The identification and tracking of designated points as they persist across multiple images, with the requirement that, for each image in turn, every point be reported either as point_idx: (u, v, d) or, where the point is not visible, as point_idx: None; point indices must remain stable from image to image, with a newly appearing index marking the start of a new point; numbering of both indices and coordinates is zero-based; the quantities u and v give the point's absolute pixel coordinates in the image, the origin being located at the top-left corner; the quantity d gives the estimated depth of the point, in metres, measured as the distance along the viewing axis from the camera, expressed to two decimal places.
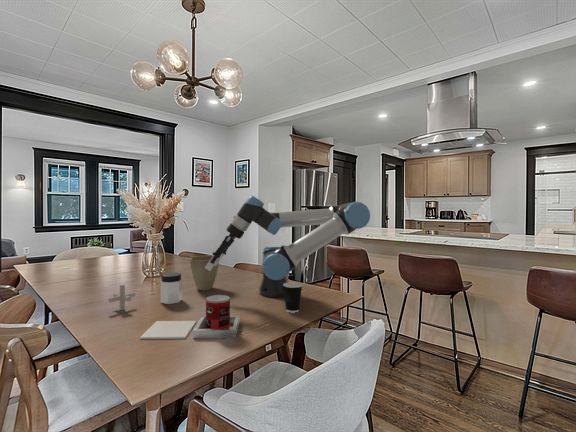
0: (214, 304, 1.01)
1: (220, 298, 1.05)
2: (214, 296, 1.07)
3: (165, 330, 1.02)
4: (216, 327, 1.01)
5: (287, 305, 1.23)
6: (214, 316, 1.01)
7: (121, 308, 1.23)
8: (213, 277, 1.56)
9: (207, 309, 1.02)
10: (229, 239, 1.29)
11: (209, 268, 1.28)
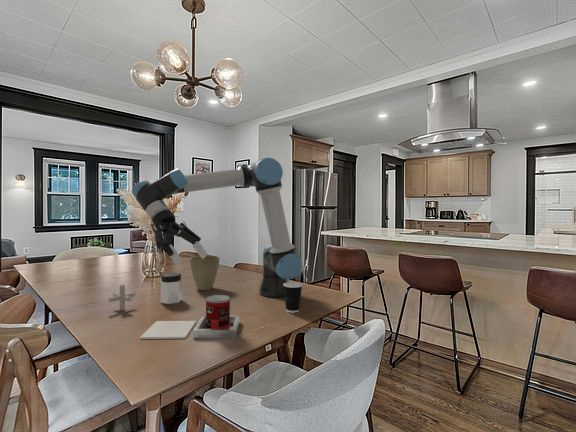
0: (214, 304, 1.01)
1: (220, 298, 1.05)
2: (214, 296, 1.07)
3: (165, 330, 1.02)
4: (216, 327, 1.01)
5: (287, 305, 1.23)
6: (214, 316, 1.01)
7: (121, 308, 1.23)
8: (213, 277, 1.56)
9: (207, 309, 1.02)
10: (155, 226, 1.06)
11: (177, 259, 1.02)
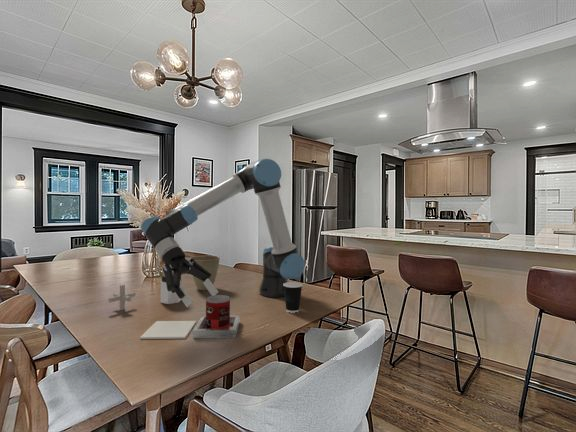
0: (214, 304, 1.01)
1: (220, 298, 1.05)
2: (214, 296, 1.07)
3: (165, 330, 1.02)
4: (216, 327, 1.01)
5: (287, 305, 1.23)
6: (214, 316, 1.01)
7: (121, 308, 1.23)
8: (213, 277, 1.56)
9: (207, 309, 1.02)
10: (165, 267, 1.03)
11: (188, 301, 0.99)
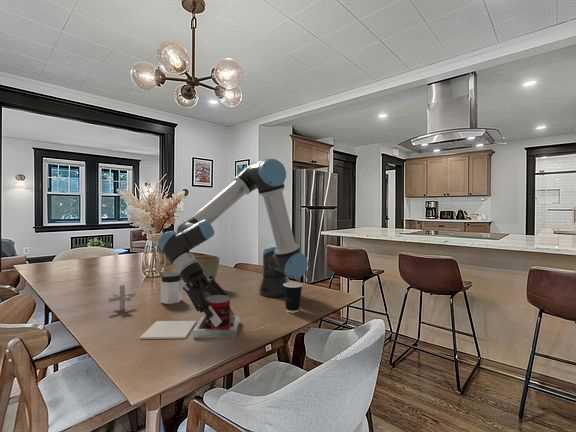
0: (214, 304, 1.01)
1: (220, 298, 1.05)
2: (214, 296, 1.07)
3: (165, 330, 1.02)
4: (216, 327, 1.01)
5: (287, 305, 1.23)
6: None
7: (121, 308, 1.23)
8: (213, 277, 1.56)
9: None
10: (187, 286, 1.01)
11: (217, 321, 0.99)
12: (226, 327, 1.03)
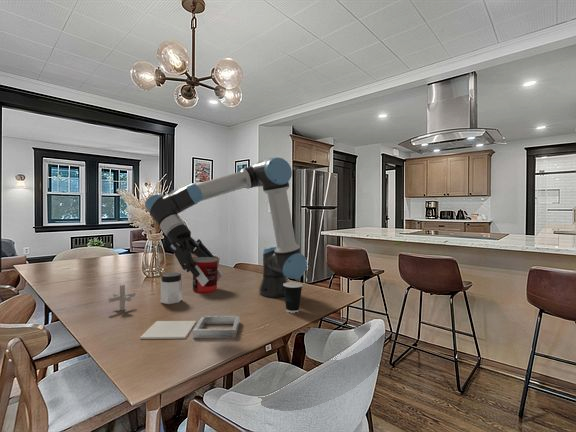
0: (200, 263, 1.00)
1: (207, 259, 1.04)
2: (201, 258, 1.06)
3: (165, 330, 1.02)
4: (203, 287, 1.00)
5: (287, 305, 1.23)
6: None
7: (121, 308, 1.23)
8: None
9: None
10: (173, 246, 1.00)
11: (204, 280, 0.98)
12: (213, 287, 1.02)
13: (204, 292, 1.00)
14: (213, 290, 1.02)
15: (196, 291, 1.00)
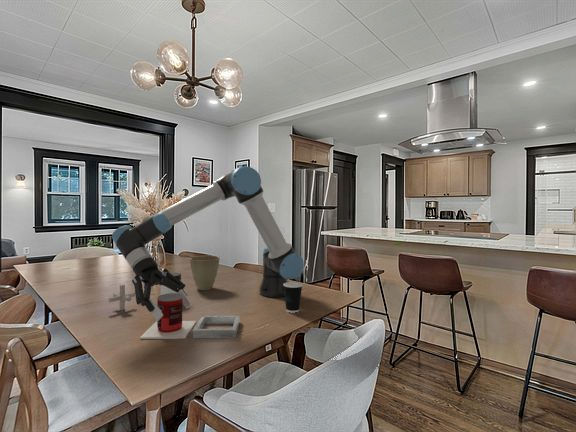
0: (164, 302, 1.00)
1: (172, 296, 1.04)
2: (167, 294, 1.06)
3: None
4: (166, 325, 1.00)
5: (287, 305, 1.23)
6: (164, 314, 1.00)
7: (121, 308, 1.23)
8: (213, 277, 1.56)
9: (158, 307, 1.01)
10: (135, 279, 1.00)
11: (158, 315, 0.96)
12: (177, 326, 1.02)
13: (168, 331, 1.00)
14: (177, 328, 1.02)
15: (160, 330, 1.00)
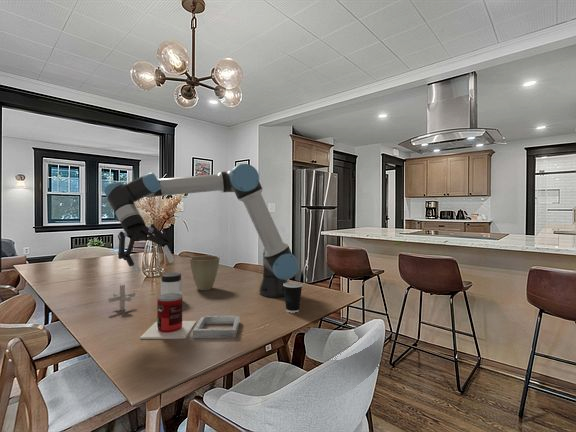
0: (164, 302, 1.00)
1: (172, 296, 1.04)
2: (167, 294, 1.06)
3: None
4: (166, 325, 1.00)
5: (287, 305, 1.23)
6: (164, 314, 1.00)
7: (121, 308, 1.23)
8: (213, 277, 1.56)
9: (158, 307, 1.01)
10: (119, 235, 1.09)
11: (137, 270, 1.06)
12: (177, 326, 1.02)
13: (168, 331, 1.00)
14: (177, 328, 1.02)
15: (160, 330, 1.00)
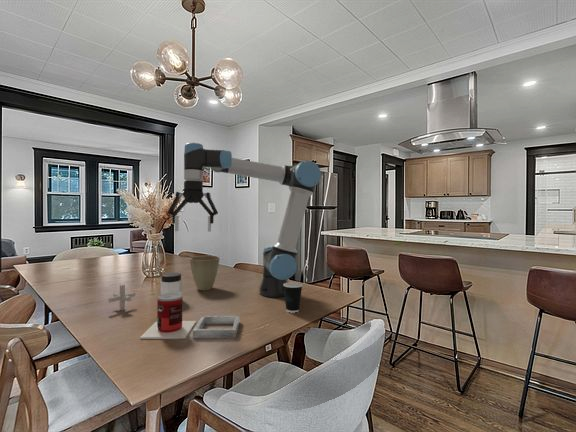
0: (164, 302, 1.00)
1: (172, 296, 1.04)
2: (167, 294, 1.06)
3: None
4: (166, 325, 1.00)
5: (287, 305, 1.23)
6: (164, 314, 1.00)
7: (121, 308, 1.23)
8: (213, 277, 1.56)
9: (158, 307, 1.01)
10: None
11: None
12: (177, 326, 1.02)
13: (168, 331, 1.00)
14: (177, 328, 1.02)
15: (160, 330, 1.00)
